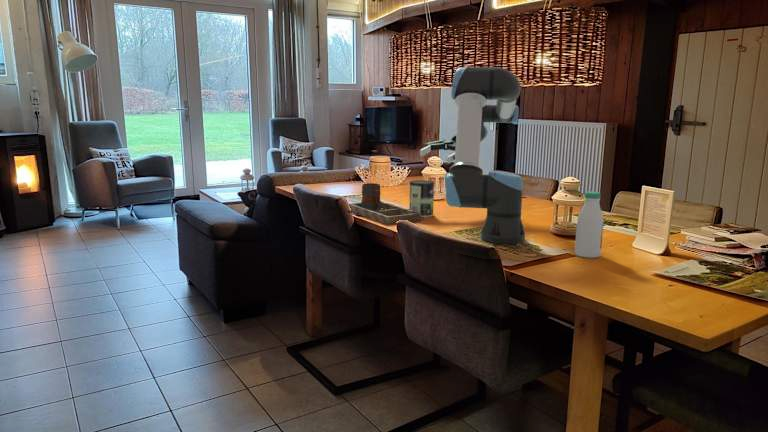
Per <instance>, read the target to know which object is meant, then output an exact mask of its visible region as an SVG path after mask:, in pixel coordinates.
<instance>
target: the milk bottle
mask: <svg viewBox="0 0 768 432" xmlns="http://www.w3.org/2000/svg"><path fill="white" fill-rule="evenodd" d="M601 195H602V194H601V192H599V191H591V190H590V191H585V192H584V203H583V205H582V208H581V210H580V211H579V213H578V216H577V221H576V228H575V232H576V233H575V243H574V254H575V256H578V257H582V258H588V259H589V258H590V259H596V258H600V257H601V252H602V243H603V233H604V231H603V230H604V214H603V212H602V208H601V206H600V205H601V204H600V201H601Z"/></svg>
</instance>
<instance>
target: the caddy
mask: <svg viewBox="0 0 768 432" xmlns="http://www.w3.org/2000/svg"><path fill="white" fill-rule="evenodd" d="M380 201H381V200H380ZM348 204H349V206H350V208H351V211H352V212H351V211H350V212H351V213H353V212H355V213H354V214H356V213H358V214H357V215H359V214H360V215H359V216H362V217H365V218H368V219H370V220H373V221H375V222H376V221H377V222H379V223H382V224H384V225H387V226H388V225H396V222H397V221H399V220H408V221H411V222H410V223H413V222H421V221H422V217H421V214H422V213H419V212H415V211H412V210H409V208H405V207H401V206H397V205H395V204H393V203H388V202H385V201H381V208H383V209H386V210H383V209H381V210H380V211H371V210H368V209H365V208H362V207H361V202H354V203H348Z"/></svg>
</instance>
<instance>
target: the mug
mask: <svg viewBox="0 0 768 432" xmlns="http://www.w3.org/2000/svg"><path fill="white" fill-rule="evenodd" d="M360 203H361V207H362V208H365V209H368V210H371V211H380V210H382V209H381V184H379V183H374V182H373V183H363V184H362V187H361V202H360Z"/></svg>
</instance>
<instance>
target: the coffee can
mask: <svg viewBox="0 0 768 432" xmlns="http://www.w3.org/2000/svg"><path fill="white" fill-rule="evenodd" d="M434 194H435V181H432V180H420V179H419V180H410V181H409V205H408V206H409V207H408V209H409V210H412V211H415V212H419V213H422V214H421V218H431V217H434V198H435V197H434V196H435V195H434Z"/></svg>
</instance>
